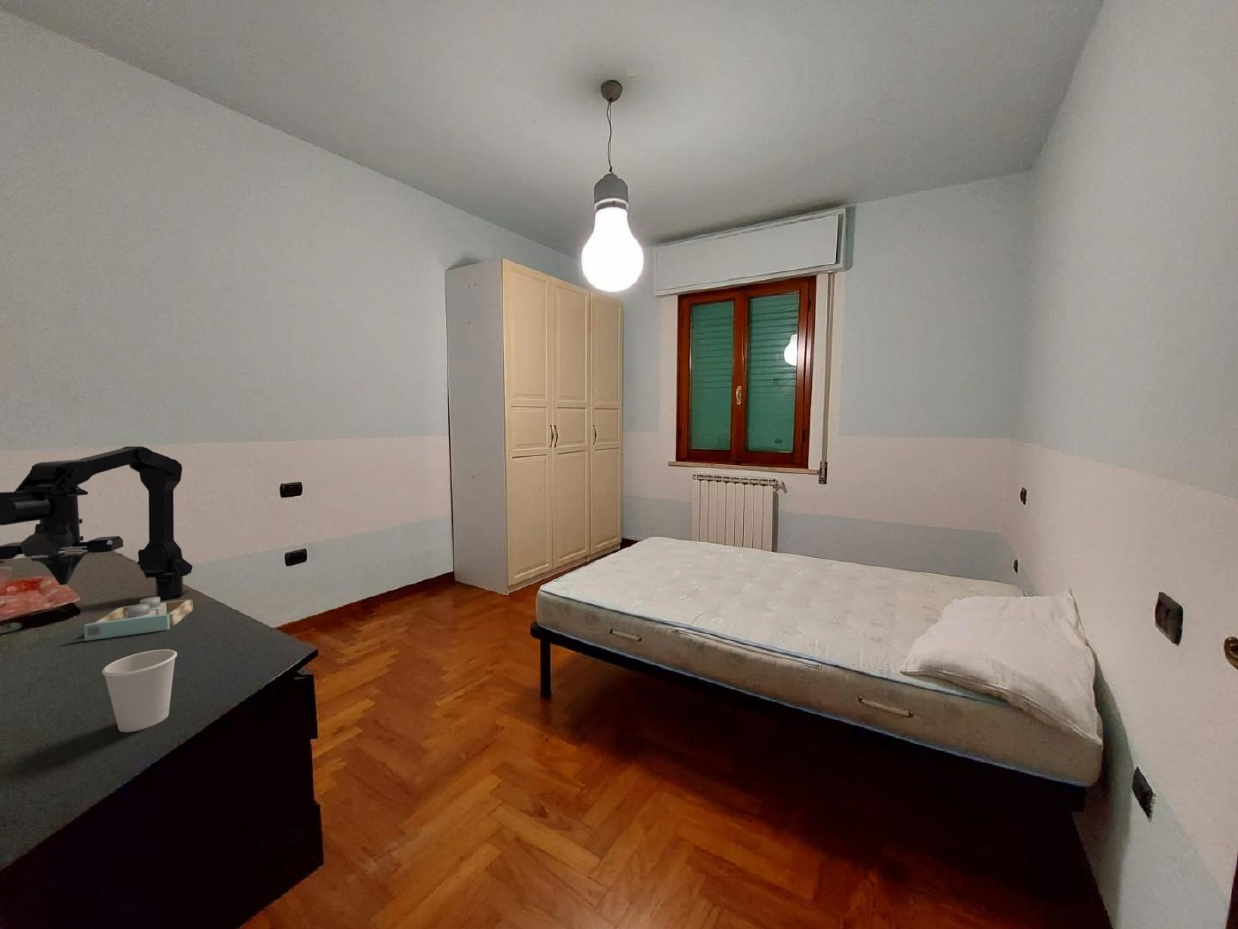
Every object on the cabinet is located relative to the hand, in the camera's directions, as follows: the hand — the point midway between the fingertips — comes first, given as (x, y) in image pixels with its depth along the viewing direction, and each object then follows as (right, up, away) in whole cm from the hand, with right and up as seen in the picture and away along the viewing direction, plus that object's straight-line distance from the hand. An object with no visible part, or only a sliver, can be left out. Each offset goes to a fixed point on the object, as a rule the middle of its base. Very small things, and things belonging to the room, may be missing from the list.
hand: (63, 584), depth 106 cm
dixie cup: (+51, -14, -31) cm, 61 cm away
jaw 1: (+12, -12, +5) cm, 17 cm away
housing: (+11, -12, +8) cm, 18 cm away
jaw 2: (+10, -11, +10) cm, 18 cm away
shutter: (+14, -12, +1) cm, 19 cm away
